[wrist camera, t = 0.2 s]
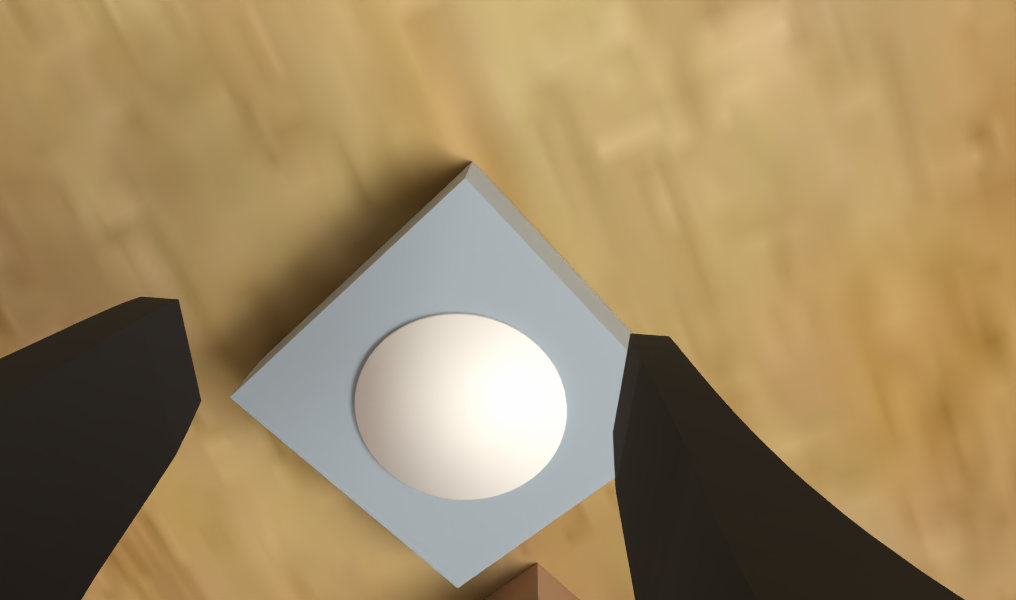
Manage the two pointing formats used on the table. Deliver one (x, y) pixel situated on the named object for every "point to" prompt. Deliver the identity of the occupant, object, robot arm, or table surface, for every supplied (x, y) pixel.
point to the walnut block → (533, 587)
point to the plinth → (453, 382)
